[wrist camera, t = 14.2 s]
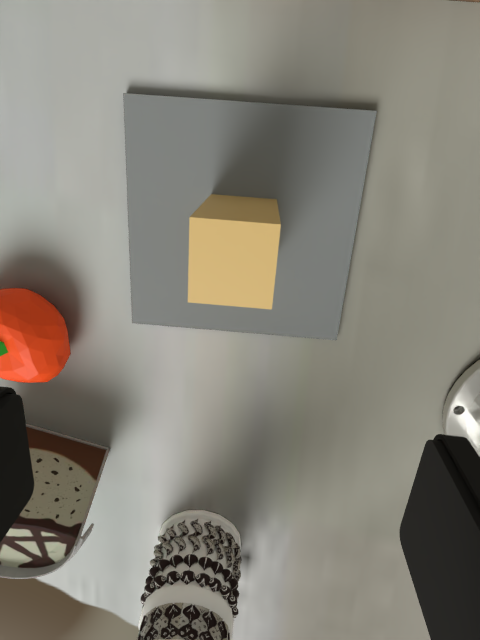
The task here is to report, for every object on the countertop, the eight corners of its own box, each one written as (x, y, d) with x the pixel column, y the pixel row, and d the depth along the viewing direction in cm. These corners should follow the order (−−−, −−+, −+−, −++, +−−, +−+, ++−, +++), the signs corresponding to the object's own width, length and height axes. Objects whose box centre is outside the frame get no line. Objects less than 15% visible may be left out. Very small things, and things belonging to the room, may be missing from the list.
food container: (-12, 463, 41) (-92, 558, 32) (-7, 413, 39) (-92, 500, 29) (112, 499, 42) (70, 600, 33) (125, 452, 39) (83, 548, 30)
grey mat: (374, 111, 27) (376, 110, 27) (335, 336, 34) (336, 340, 33) (126, 93, 28) (123, 93, 27) (134, 320, 34) (132, 322, 33)
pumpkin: (50, 374, 37) (3, 424, 32) (-22, 306, 35) (-87, 346, 29) (103, 334, 34) (61, 382, 29) (28, 257, 32) (-33, 292, 26)
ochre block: (276, 199, 29) (280, 224, 21) (270, 263, 31) (271, 309, 23) (211, 194, 29) (189, 217, 21) (208, 257, 31) (187, 302, 23)
